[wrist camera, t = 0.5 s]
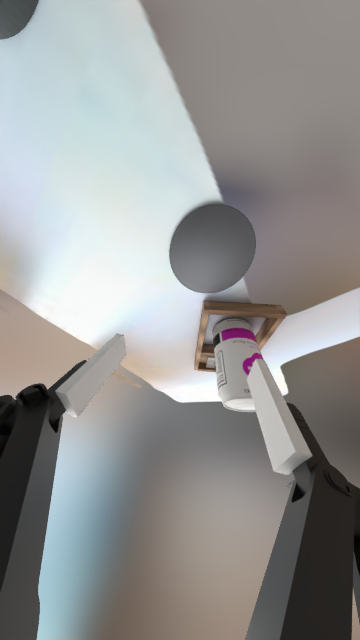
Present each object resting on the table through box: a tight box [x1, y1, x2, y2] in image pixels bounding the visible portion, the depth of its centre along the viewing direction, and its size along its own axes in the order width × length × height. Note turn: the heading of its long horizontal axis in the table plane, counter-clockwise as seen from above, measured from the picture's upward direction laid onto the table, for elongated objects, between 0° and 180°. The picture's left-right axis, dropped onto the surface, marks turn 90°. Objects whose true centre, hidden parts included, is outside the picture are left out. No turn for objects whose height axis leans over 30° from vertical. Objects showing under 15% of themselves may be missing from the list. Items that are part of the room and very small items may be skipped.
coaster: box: [169, 204, 256, 293], centre depth 20 cm, size 12×12×1 cm
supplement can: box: [213, 318, 263, 412], centre depth 26 cm, size 8×8×15 cm
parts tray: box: [194, 301, 287, 372], centre depth 33 cm, size 24×14×3 cm, turn 0°
